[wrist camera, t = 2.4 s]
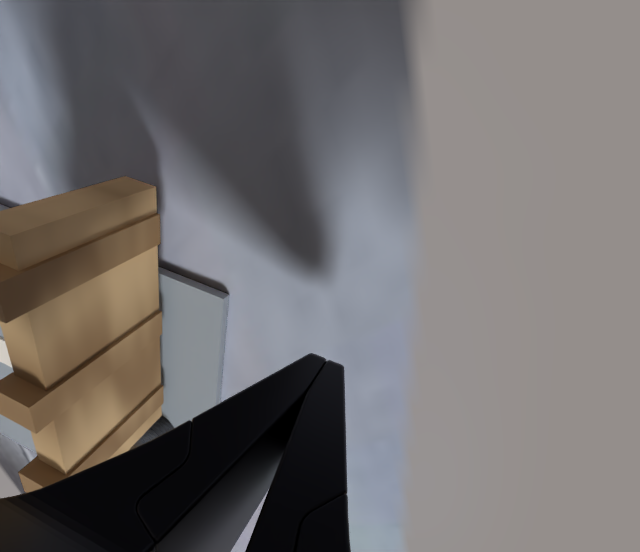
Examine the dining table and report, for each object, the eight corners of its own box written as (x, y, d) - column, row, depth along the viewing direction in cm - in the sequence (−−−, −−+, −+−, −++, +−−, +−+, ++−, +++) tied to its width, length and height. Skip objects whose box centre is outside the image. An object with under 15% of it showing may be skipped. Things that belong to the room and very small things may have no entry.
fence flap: (164, 416, 15) (61, 525, 11) (137, 403, 15) (29, 505, 12) (159, 187, 10) (-15, 247, 7) (122, 175, 11) (-65, 226, 7)
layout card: (207, 542, 20) (203, 550, 19) (4, 428, 23) (-3, 434, 22) (229, 294, 12) (221, 300, 12) (-82, 171, 15) (-95, 173, 15)
